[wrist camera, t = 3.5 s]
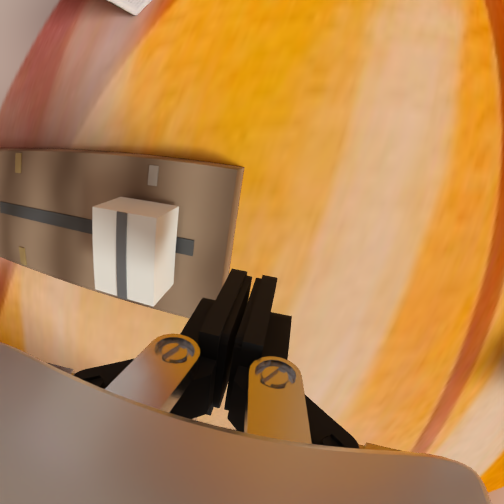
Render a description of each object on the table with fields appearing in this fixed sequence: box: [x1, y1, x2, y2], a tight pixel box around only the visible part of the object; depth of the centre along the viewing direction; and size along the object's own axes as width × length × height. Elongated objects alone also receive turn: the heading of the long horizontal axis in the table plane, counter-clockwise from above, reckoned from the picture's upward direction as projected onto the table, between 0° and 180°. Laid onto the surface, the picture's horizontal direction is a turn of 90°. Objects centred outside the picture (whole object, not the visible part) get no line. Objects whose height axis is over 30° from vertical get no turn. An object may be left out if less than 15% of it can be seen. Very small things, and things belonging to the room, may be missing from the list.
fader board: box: [0, 148, 244, 318], centre depth 20 cm, size 24×10×2 cm, turn 81°
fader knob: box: [92, 197, 179, 307], centre depth 17 cm, size 4×5×3 cm
